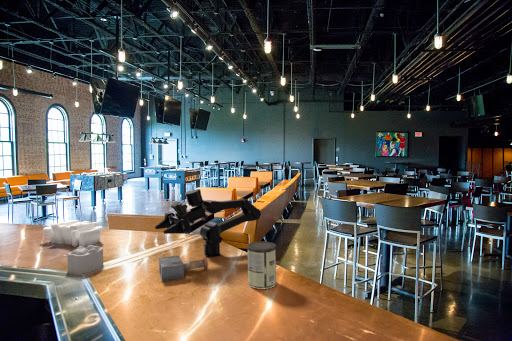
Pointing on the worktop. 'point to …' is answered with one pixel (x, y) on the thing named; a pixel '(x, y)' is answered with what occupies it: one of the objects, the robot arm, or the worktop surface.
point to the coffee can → (261, 265)
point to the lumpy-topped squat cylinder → (85, 259)
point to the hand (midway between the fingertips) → (159, 230)
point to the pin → (196, 264)
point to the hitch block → (171, 268)
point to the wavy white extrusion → (74, 233)
